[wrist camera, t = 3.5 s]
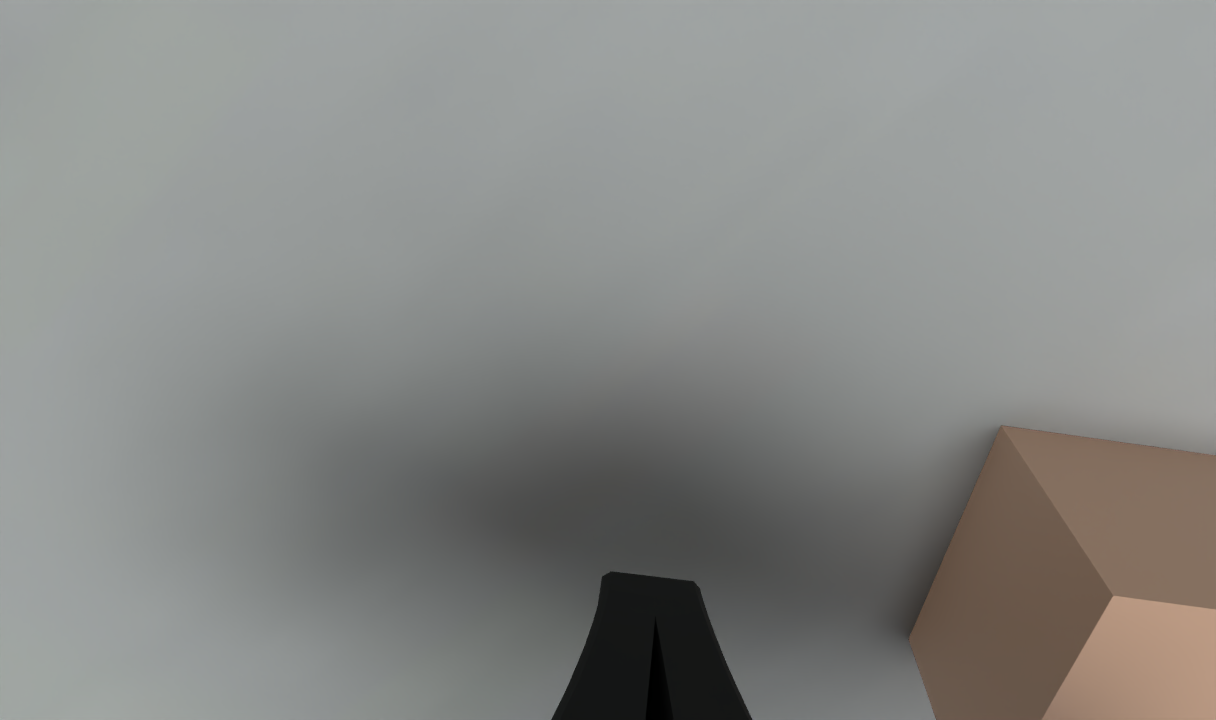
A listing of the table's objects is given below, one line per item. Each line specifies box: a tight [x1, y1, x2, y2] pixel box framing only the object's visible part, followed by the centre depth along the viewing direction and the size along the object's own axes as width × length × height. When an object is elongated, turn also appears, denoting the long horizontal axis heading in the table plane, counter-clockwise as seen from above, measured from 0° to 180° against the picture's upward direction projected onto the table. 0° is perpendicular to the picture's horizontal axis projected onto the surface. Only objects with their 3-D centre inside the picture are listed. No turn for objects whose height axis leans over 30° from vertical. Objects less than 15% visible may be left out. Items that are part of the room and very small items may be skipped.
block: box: [909, 426, 1216, 720], centre depth 13 cm, size 5×5×4 cm
